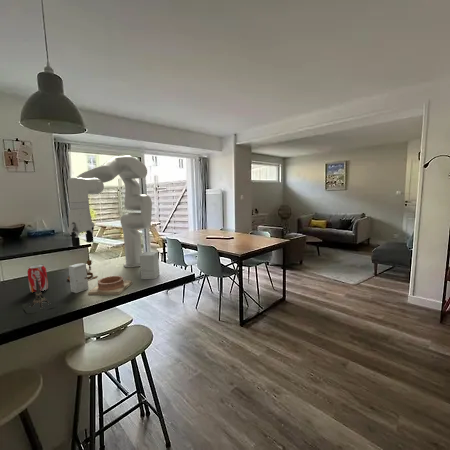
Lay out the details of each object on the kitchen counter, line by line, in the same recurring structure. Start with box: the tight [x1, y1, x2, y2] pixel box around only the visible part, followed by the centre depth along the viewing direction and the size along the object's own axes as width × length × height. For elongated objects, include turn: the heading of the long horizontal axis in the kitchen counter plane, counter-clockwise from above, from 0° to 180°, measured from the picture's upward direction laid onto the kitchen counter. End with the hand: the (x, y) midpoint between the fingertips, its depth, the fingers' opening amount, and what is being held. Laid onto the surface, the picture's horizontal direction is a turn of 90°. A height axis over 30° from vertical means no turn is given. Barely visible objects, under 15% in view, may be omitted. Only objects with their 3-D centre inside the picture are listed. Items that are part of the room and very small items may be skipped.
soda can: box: [27, 263, 49, 293], centre depth 122 cm, size 7×7×12 cm
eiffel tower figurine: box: [30, 277, 50, 307], centre depth 106 cm, size 15×10×13 cm
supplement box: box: [139, 251, 160, 280], centre depth 137 cm, size 7×7×13 cm
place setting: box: [66, 259, 99, 282], centre depth 143 cm, size 18×20×6 cm
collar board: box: [87, 275, 133, 296], centre depth 123 cm, size 14×14×4 cm
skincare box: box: [68, 262, 89, 294], centre depth 121 cm, size 6×4×12 cm
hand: (83, 244), depth 119 cm, fingers open, 9 cm apart
